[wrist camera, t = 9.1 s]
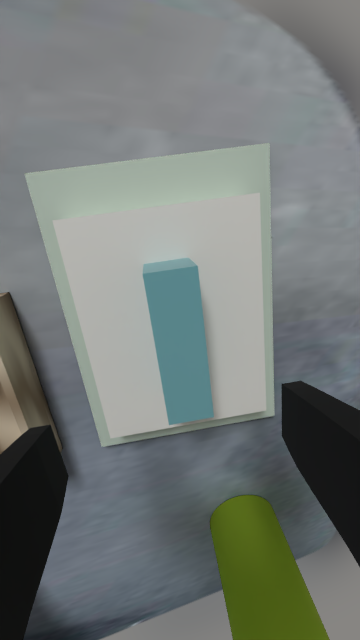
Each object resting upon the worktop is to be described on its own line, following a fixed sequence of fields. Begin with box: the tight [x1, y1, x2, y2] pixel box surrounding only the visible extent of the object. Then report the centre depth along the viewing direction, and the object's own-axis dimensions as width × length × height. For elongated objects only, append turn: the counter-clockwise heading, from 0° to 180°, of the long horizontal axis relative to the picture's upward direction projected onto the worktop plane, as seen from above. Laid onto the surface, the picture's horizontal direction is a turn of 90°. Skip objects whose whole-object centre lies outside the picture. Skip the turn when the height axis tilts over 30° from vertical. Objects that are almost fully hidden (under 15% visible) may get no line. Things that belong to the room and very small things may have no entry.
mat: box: [24, 143, 274, 447], centre depth 18 cm, size 18×13×1 cm
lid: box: [52, 193, 266, 439], centre depth 16 cm, size 13×10×5 cm
